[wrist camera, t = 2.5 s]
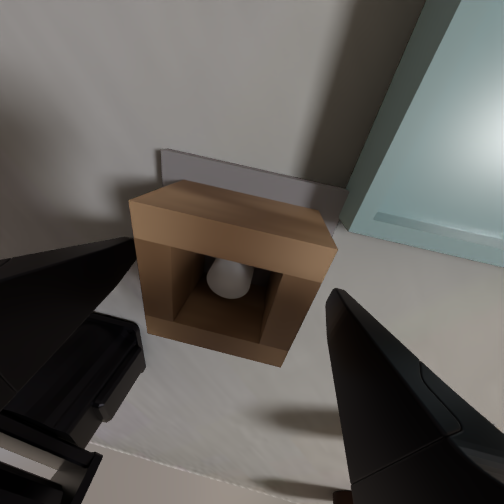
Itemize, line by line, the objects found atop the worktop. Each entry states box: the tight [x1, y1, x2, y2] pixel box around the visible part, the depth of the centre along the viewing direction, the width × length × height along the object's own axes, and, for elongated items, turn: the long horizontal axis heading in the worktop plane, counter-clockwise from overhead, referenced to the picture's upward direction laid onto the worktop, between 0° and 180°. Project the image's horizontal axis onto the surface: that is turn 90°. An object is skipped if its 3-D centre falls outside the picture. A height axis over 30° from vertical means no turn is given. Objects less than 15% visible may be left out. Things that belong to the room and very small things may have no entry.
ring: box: [128, 180, 338, 367], centre depth 8 cm, size 6×6×4 cm
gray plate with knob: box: [161, 149, 349, 299], centre depth 9 cm, size 8×8×3 cm
